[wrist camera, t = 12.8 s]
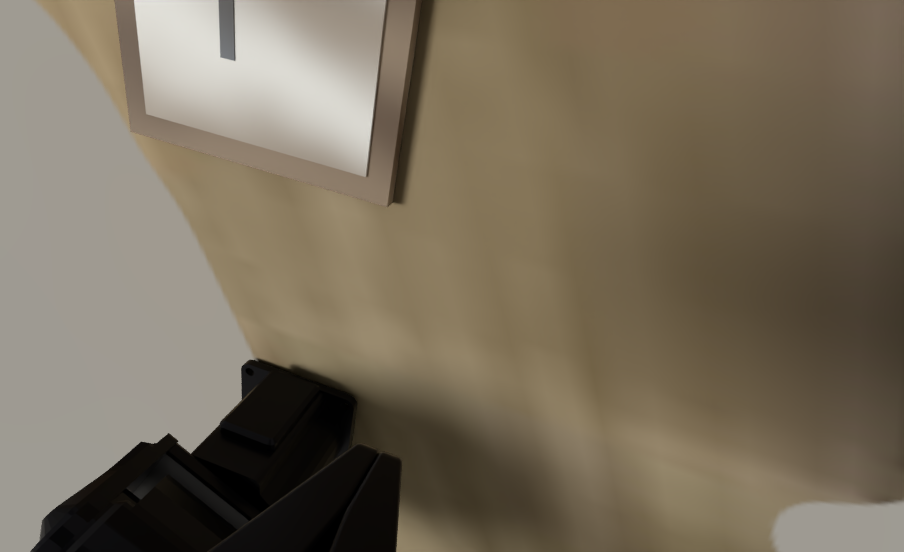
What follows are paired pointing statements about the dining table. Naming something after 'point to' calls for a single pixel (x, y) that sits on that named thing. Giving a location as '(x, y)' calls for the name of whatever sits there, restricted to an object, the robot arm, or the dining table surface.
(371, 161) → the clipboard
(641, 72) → the dining table surface
